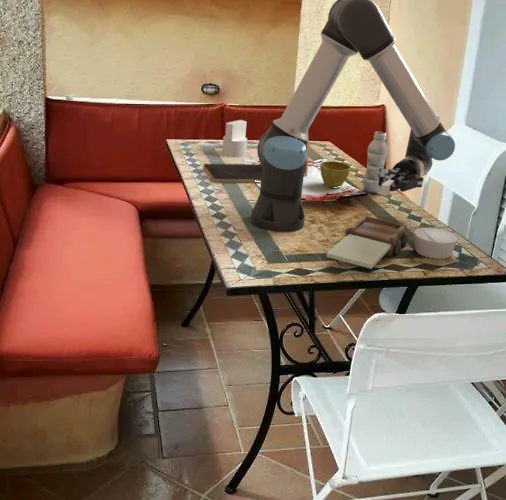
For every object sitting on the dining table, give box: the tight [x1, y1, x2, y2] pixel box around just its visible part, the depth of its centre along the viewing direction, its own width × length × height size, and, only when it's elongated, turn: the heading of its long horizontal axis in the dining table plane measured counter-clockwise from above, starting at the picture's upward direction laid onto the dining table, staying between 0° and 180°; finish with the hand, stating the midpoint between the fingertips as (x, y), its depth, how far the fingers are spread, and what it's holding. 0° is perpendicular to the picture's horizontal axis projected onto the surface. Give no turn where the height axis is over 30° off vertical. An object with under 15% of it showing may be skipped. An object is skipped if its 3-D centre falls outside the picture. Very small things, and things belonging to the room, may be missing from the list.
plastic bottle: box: [361, 131, 389, 194], centre depth 230 cm, size 6×7×20 cm
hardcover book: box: [203, 163, 262, 184], centre depth 238 cm, size 16×23×2 cm
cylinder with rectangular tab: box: [221, 119, 248, 158], centre depth 260 cm, size 9×9×12 cm
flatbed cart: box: [344, 214, 409, 257], centre depth 190 cm, size 13×14×5 cm
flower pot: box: [319, 160, 352, 188], centre depth 235 cm, size 10×10×7 cm
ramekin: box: [413, 227, 458, 260], centre depth 188 cm, size 11×11×5 cm
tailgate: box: [326, 234, 391, 270], centre depth 178 cm, size 1×12×16 cm
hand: (383, 190), depth 182 cm, fingers closed
